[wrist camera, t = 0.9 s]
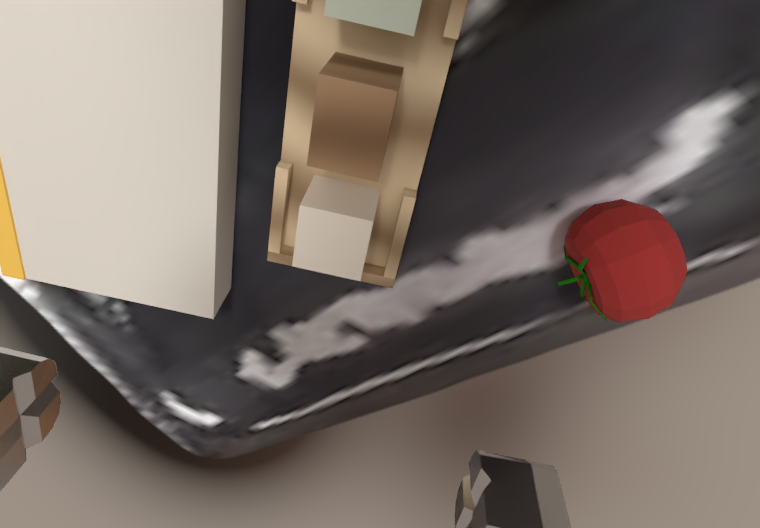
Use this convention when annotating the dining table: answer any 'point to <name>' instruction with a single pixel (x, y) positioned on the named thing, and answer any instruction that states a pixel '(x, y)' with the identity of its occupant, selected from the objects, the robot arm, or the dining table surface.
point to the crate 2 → (335, 227)
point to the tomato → (625, 260)
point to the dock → (121, 147)
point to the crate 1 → (377, 13)
